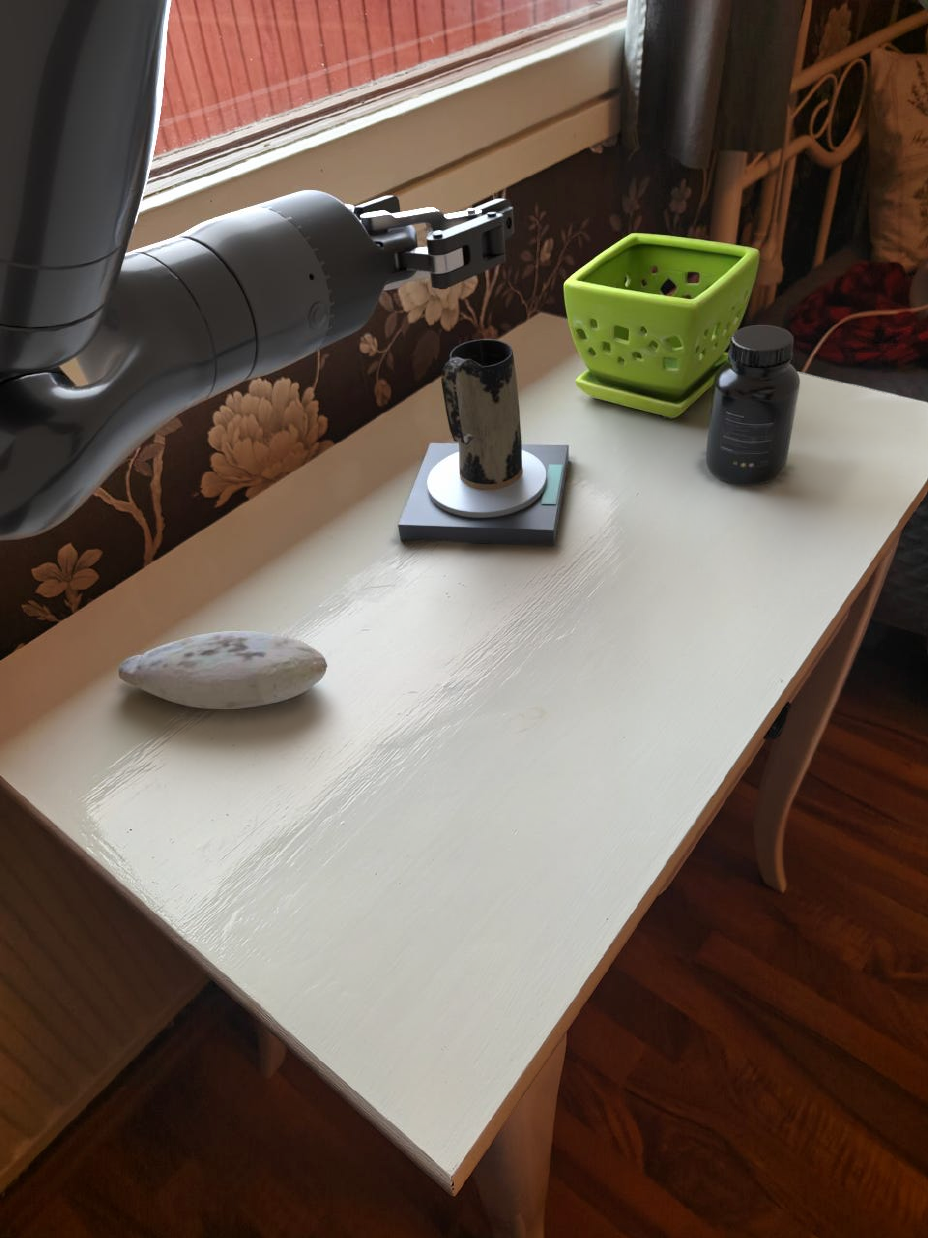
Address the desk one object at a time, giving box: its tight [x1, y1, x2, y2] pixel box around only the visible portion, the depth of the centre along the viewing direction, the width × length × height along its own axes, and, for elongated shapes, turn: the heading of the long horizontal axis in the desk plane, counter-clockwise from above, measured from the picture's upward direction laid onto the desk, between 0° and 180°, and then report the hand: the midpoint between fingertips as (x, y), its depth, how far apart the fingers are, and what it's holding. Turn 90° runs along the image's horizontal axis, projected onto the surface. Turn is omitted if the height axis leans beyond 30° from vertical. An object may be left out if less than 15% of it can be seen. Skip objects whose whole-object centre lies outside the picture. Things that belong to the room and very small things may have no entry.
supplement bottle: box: [705, 324, 801, 486], centre depth 72 cm, size 7×7×12 cm
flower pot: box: [563, 232, 761, 420], centre depth 84 cm, size 14×14×13 cm
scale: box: [397, 442, 570, 547], centre depth 76 cm, size 13×13×2 cm
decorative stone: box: [117, 630, 328, 710], centre depth 61 cm, size 6×16×3 cm, turn 86°
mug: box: [440, 338, 523, 490], centre depth 71 cm, size 8×6×12 cm
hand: (449, 214), depth 54 cm, fingers open, 8 cm apart
